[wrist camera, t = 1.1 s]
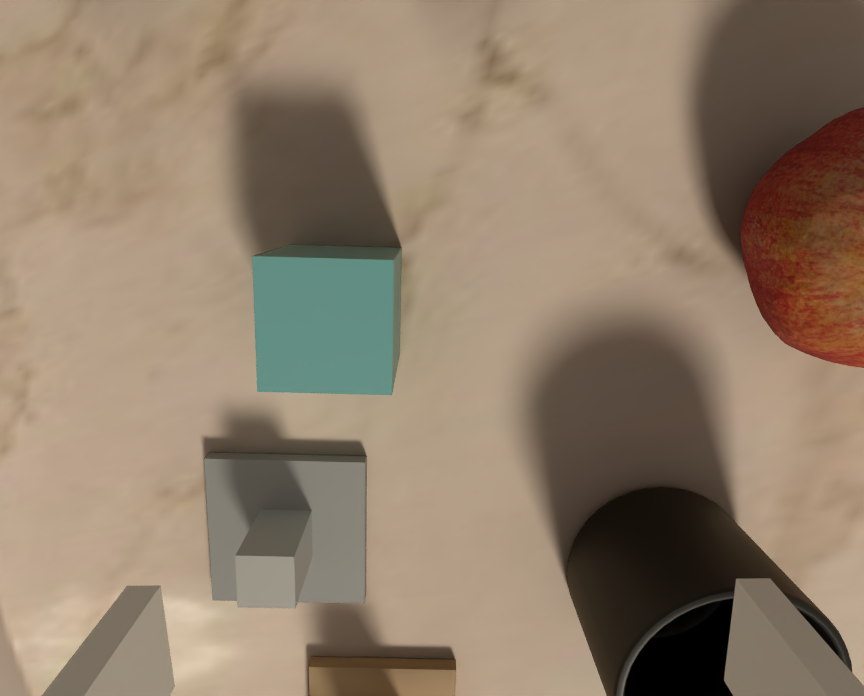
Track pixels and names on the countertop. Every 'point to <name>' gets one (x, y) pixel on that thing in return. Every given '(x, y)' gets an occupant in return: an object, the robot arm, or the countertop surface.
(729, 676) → the robot arm
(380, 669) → the brown base with post
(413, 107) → the countertop surface
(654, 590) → the mug
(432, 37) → the countertop surface
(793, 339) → the fruit
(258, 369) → the teal rectangular block
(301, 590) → the grey post
